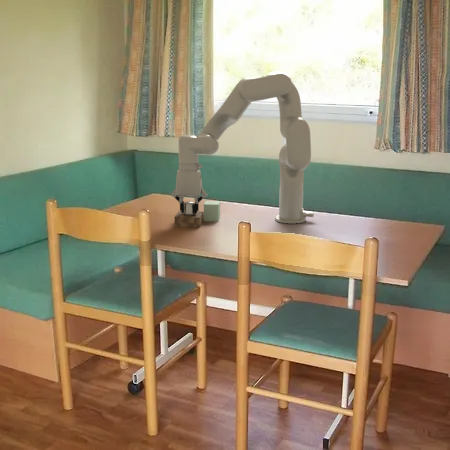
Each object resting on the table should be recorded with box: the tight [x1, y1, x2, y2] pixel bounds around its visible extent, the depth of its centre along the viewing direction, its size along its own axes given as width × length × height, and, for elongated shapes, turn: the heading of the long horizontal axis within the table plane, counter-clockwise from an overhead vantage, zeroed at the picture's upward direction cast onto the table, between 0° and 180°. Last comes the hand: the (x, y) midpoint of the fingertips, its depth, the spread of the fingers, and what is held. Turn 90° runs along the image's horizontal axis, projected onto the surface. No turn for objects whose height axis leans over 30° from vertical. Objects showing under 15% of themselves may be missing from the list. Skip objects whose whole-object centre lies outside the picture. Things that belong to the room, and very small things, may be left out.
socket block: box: [174, 210, 205, 229], centre depth 253 cm, size 10×10×4 cm
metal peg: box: [184, 200, 195, 216], centre depth 253 cm, size 4×4×9 cm
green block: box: [203, 200, 221, 222], centre depth 260 cm, size 6×6×7 cm
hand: (189, 212), depth 252 cm, fingers open, 4 cm apart
